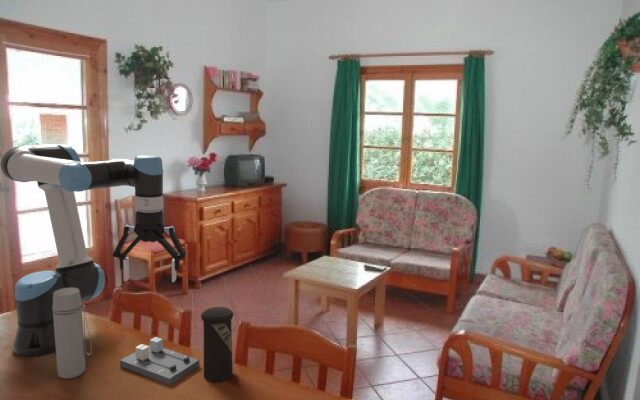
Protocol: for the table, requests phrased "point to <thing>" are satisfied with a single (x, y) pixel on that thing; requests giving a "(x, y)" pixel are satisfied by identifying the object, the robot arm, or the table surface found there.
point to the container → (217, 344)
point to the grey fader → (156, 344)
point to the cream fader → (142, 352)
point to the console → (161, 365)
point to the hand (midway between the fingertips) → (150, 280)
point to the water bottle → (69, 332)
